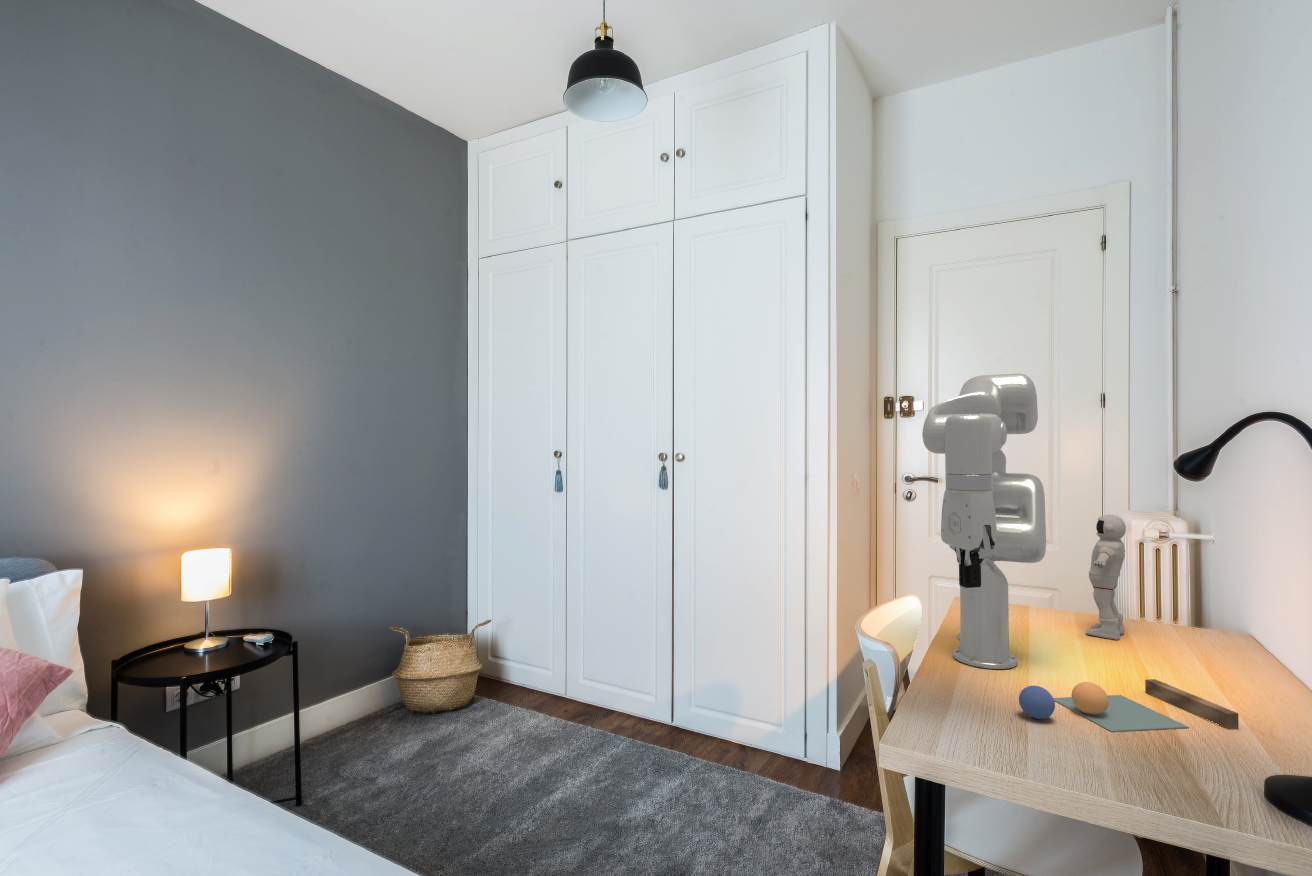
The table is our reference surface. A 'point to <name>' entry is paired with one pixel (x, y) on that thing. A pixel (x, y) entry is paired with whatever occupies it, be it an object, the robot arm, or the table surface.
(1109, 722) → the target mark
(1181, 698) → the rail
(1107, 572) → the toy
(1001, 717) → the table surface
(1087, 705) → the orange ball
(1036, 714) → the blue ball
